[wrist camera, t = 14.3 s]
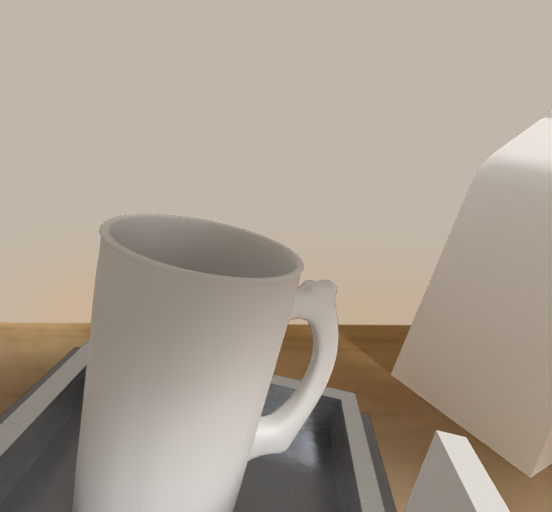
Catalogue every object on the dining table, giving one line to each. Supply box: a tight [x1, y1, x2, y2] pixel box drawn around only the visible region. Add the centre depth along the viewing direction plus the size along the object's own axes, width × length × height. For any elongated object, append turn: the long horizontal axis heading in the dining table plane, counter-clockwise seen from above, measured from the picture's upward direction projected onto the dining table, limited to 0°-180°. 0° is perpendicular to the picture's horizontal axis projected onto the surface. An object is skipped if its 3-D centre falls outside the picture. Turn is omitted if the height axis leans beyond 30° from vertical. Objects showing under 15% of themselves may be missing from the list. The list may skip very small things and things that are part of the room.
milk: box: [391, 108, 552, 478], centre depth 32 cm, size 12×12×26 cm
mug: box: [72, 214, 338, 512], centre depth 16 cm, size 10×7×12 cm, turn 114°
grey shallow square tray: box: [0, 340, 397, 512], centre depth 18 cm, size 20×20×4 cm
